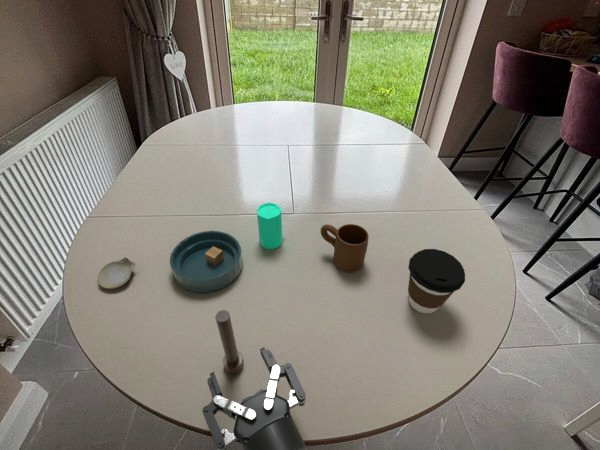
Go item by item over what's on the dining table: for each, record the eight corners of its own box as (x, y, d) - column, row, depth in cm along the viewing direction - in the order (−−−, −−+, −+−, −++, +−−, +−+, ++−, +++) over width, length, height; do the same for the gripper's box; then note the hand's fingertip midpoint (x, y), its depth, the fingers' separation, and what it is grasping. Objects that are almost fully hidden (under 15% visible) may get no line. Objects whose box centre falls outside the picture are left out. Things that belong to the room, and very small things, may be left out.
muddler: (230, 378, 61) (217, 330, 50) (220, 363, 63) (206, 314, 52) (247, 366, 62) (238, 317, 52) (237, 351, 65) (226, 302, 54)
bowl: (193, 306, 72) (189, 293, 69) (163, 262, 82) (158, 249, 79) (255, 270, 80) (254, 257, 77) (221, 235, 89) (219, 222, 87)
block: (216, 266, 80) (214, 258, 78) (206, 262, 81) (204, 253, 79) (224, 259, 82) (222, 250, 80) (214, 254, 83) (213, 246, 81)
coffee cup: (452, 327, 69) (473, 291, 61) (399, 319, 71) (412, 283, 63) (444, 286, 78) (461, 250, 70) (396, 279, 79) (408, 243, 71)
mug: (312, 258, 84) (313, 230, 77) (326, 240, 88) (328, 213, 82) (355, 278, 79) (361, 250, 73) (368, 258, 84) (374, 230, 78)
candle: (260, 233, 90) (257, 197, 82) (282, 233, 90) (282, 198, 82) (258, 248, 86) (254, 212, 78) (281, 249, 86) (280, 213, 78)
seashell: (99, 284, 78) (111, 297, 73) (91, 275, 77) (103, 289, 72) (129, 260, 82) (143, 272, 77) (122, 252, 80) (136, 263, 75)
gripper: (331, 428, 43) (276, 330, 54) (227, 496, 38) (189, 372, 49) (327, 446, 48) (277, 353, 59) (235, 508, 43) (198, 394, 53)
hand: (237, 362), depth 54 cm, fingers open, 8 cm apart
